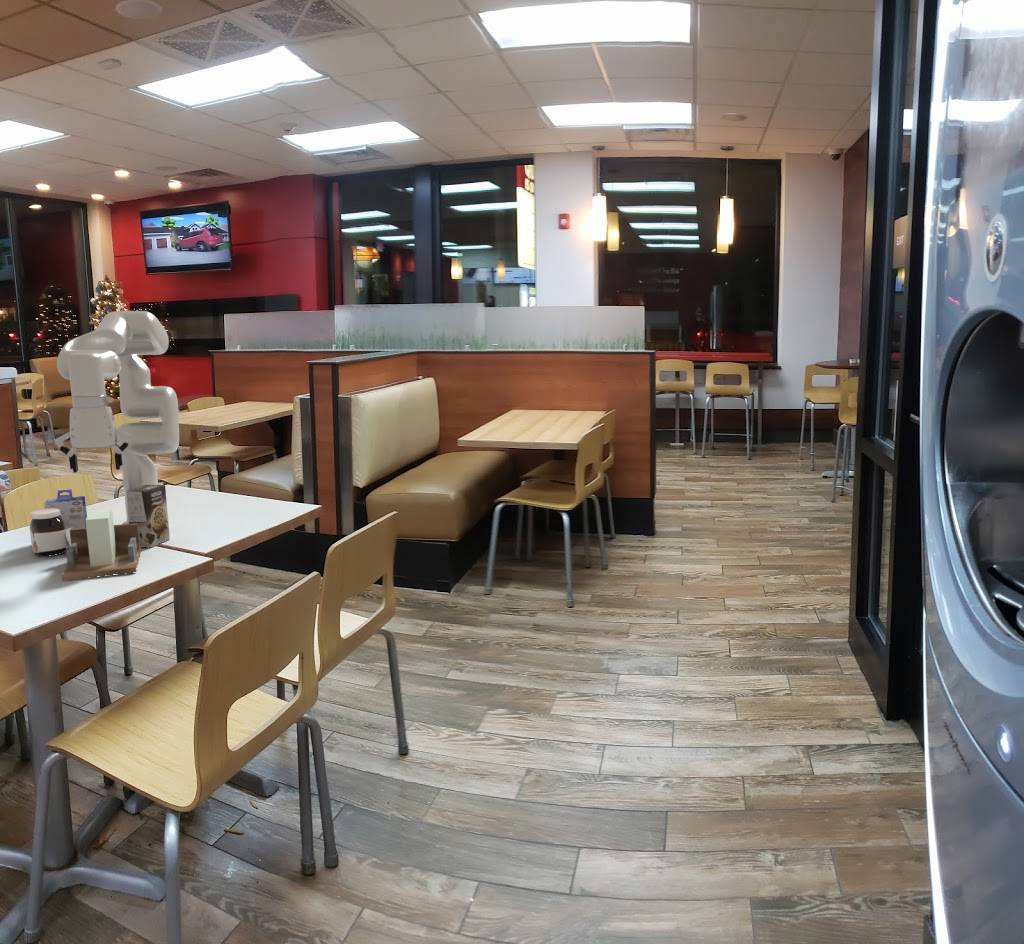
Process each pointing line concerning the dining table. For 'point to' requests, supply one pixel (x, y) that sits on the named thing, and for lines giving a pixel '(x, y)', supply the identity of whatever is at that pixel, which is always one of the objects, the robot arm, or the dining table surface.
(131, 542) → the shelf
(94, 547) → the pale green box
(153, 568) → the dining table surface
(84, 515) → the ink cartridge box
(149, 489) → the coffee box
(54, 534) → the spread jar
